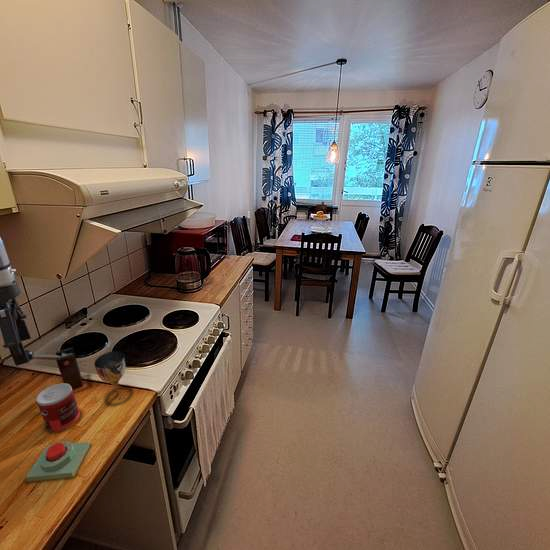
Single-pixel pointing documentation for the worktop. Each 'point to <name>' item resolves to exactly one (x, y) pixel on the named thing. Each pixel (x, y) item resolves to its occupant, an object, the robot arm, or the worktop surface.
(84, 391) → the worktop surface
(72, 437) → the worktop surface
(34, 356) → the lever
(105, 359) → the wine glass
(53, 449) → the button
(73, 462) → the button box
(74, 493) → the worktop surface
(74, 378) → the dark brown boxy piece
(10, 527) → the worktop surface
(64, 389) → the canned food
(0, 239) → the robot arm
